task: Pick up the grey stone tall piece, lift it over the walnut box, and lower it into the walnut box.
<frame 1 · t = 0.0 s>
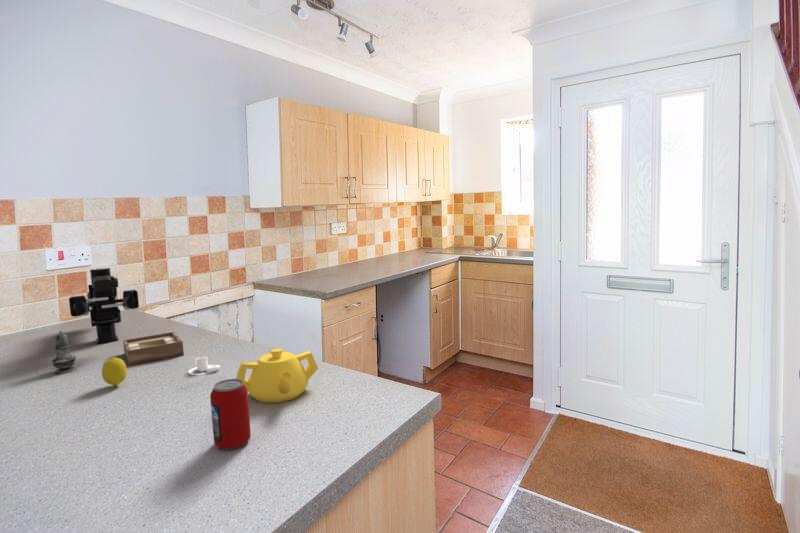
hand: (106, 306, 140), 17 cm above the countertop, tool horizontal, fingers open, 9 cm apart
walnut box: (153, 354, 145), on the countertop
teacup and saucer: (201, 376, 126), on the countertop
grey stone tall piece: (65, 371, 132), on the countertop
teapot: (281, 396, 110), on the countertop
lemon: (116, 386, 119), on the countertop
beverage can: (233, 443, 88), on the countertop
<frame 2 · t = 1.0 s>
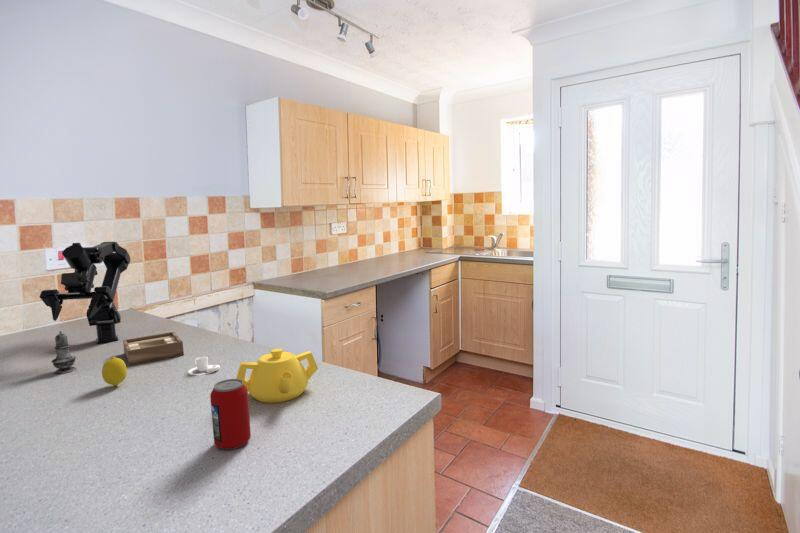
hand: (71, 318, 137), 14 cm above the countertop, tool tilted 45°, fingers open, 9 cm apart
nothing on the countertop moved.
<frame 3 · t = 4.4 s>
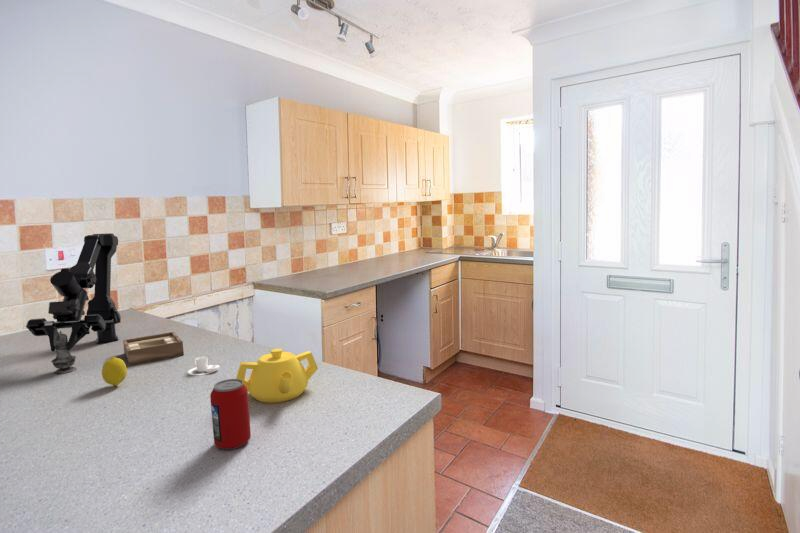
hand: (60, 350, 130), 7 cm above the countertop, tool tilted 45°, fingers closed on grey stone tall piece, 4 cm apart
grey stone tall piece: (65, 371, 132), on the countertop, touching gripper
everything else where it was.
when the fingers open (9 cm above the countertop, at t = 8.6 s): grey stone tall piece drops 1 cm, resting on walnut box.
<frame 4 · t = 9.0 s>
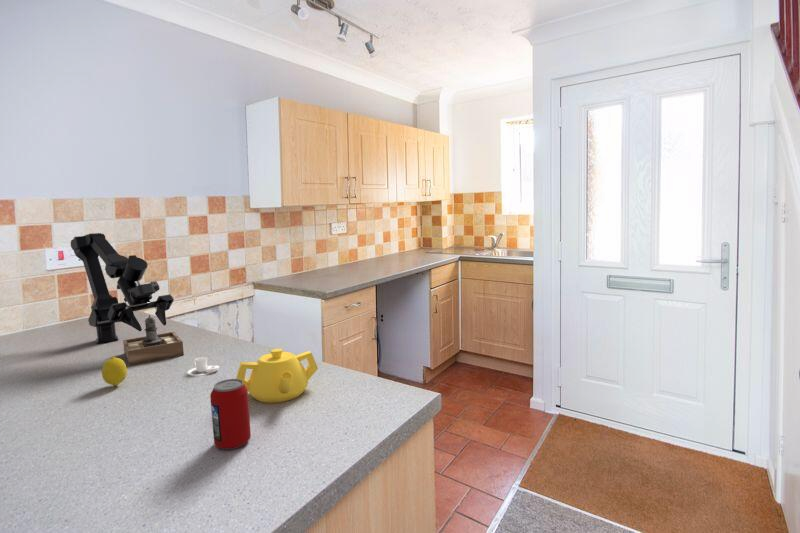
hand: (153, 327, 143), 9 cm above the countertop, tool tilted 45°, fingers open, 7 cm apart
grey stone tall piece: (153, 351, 145), point 1 cm above the countertop, touching walnut box
everything else where it was.
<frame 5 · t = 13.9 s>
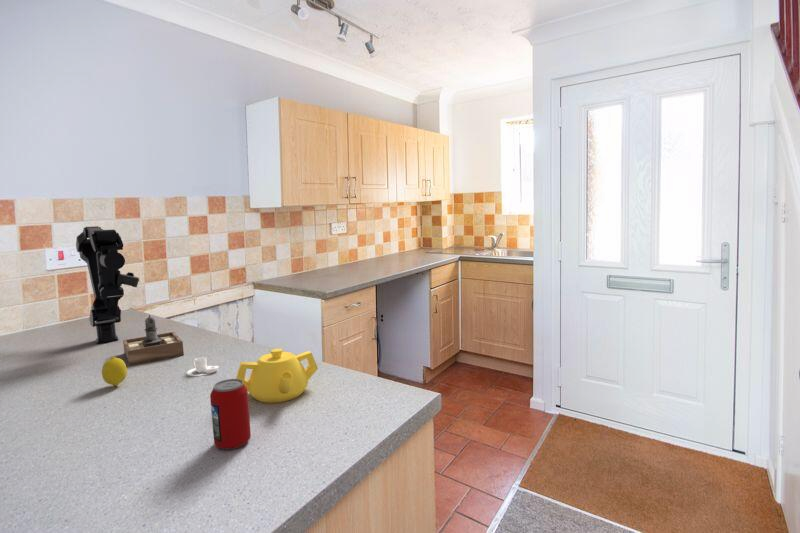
hand: (113, 313, 151), 12 cm above the countertop, tool pointing down, fingers open, 9 cm apart
nothing on the countertop moved.
at the end: grey stone tall piece 0.1 cm off-centre on the walnut box, point 0.8 cm above the walnut box's base; grey stone tall piece tilted 0°; the gripper is holding nothing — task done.
